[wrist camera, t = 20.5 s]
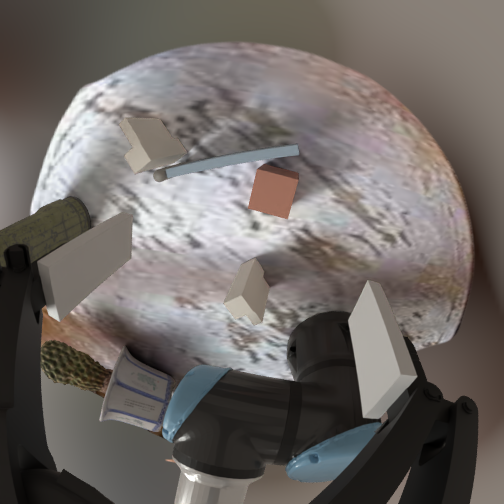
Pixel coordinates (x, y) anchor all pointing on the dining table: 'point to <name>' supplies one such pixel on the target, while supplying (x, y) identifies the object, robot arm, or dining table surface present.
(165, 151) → the doorframe
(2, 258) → the thermos
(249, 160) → the door
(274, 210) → the reddish brown block
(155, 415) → the potted plant
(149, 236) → the dining table surface
